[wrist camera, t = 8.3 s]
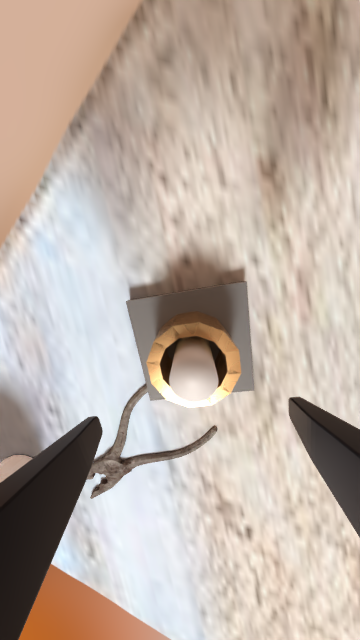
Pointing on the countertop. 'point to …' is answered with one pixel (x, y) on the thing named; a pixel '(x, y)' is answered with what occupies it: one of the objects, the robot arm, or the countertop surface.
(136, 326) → the grey peg stand
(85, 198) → the countertop surface
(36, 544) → the robot arm
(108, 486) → the pliers
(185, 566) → the countertop surface
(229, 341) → the ring
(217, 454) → the countertop surface
